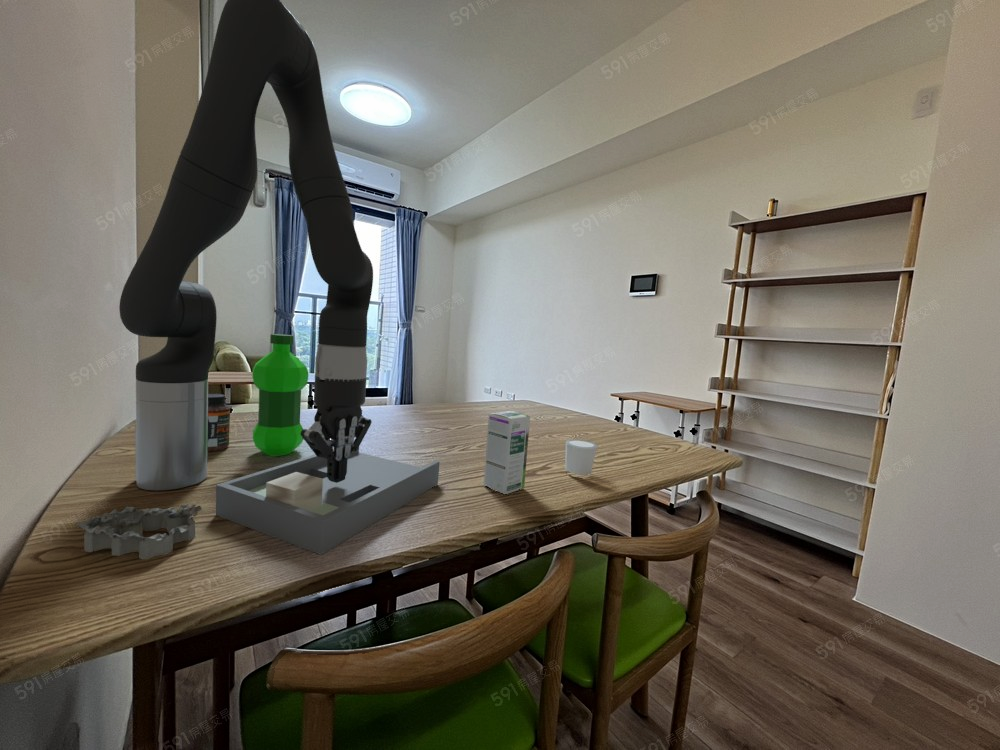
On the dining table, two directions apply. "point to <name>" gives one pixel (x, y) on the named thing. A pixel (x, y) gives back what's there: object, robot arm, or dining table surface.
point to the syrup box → (506, 451)
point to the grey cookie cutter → (140, 530)
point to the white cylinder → (579, 456)
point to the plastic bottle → (279, 398)
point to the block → (297, 490)
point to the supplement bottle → (218, 422)
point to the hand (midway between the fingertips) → (336, 480)
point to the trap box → (325, 499)
